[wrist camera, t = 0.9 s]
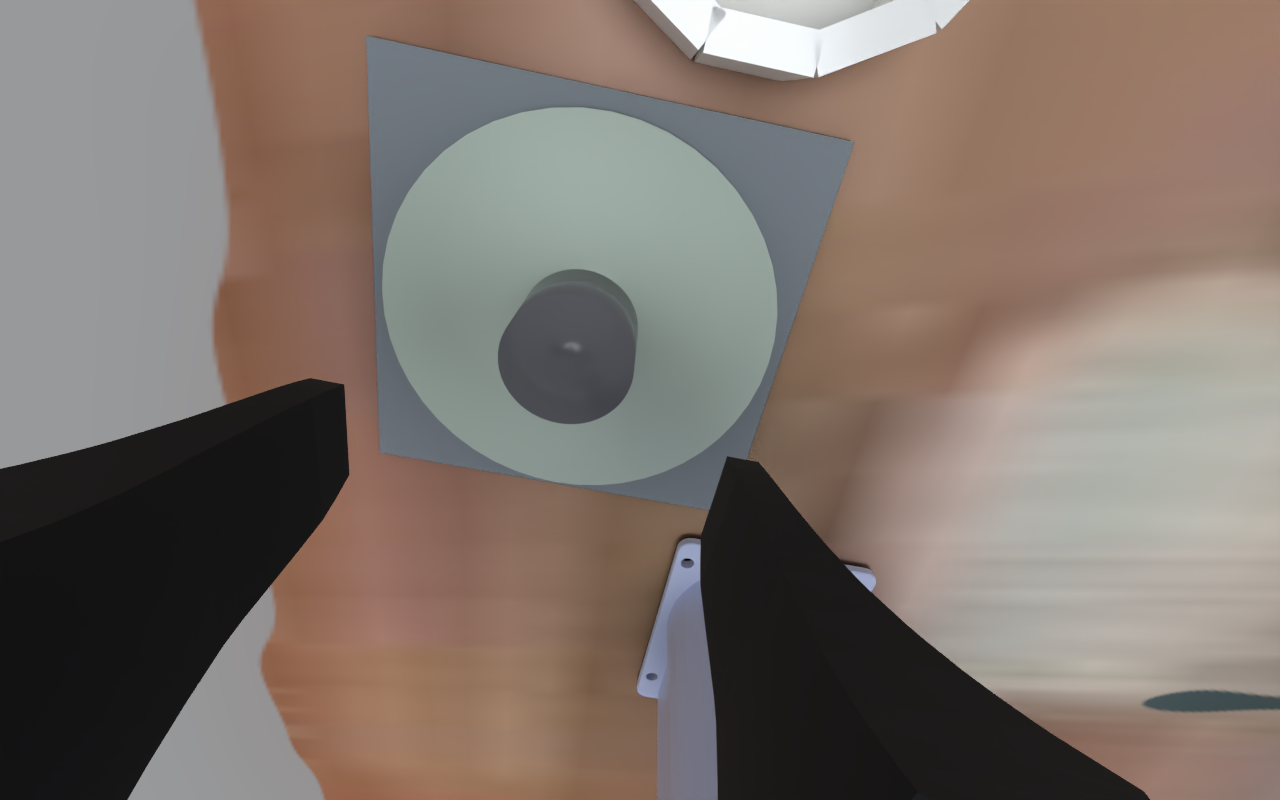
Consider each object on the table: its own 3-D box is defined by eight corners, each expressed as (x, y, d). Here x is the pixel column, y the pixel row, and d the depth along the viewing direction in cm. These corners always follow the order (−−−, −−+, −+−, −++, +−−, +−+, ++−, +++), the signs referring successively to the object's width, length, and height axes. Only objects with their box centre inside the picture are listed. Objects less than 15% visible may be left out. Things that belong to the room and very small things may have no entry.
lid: (718, 500, 21) (728, 567, 18) (393, 443, 20) (347, 503, 17) (830, 157, 16) (870, 173, 13) (386, 62, 15) (316, 54, 12)
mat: (727, 508, 22) (728, 513, 21) (383, 447, 21) (379, 452, 21) (851, 141, 16) (854, 142, 15) (371, 36, 15) (366, 35, 15)
